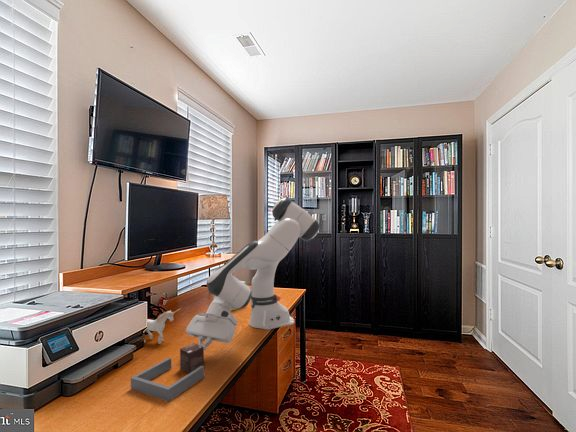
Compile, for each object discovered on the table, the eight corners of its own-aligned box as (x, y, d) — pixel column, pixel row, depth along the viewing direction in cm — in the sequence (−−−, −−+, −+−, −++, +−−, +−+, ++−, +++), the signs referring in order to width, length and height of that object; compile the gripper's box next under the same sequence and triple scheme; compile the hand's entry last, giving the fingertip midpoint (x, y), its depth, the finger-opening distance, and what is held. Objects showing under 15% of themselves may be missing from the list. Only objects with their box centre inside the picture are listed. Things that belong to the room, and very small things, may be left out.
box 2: (194, 362, 114) (194, 342, 114) (204, 367, 110) (204, 346, 110) (179, 369, 110) (179, 348, 110) (189, 374, 106) (189, 352, 106)
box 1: (168, 367, 111) (168, 357, 111) (204, 376, 104) (204, 366, 104) (130, 389, 97) (130, 377, 97) (168, 401, 90) (168, 389, 90)
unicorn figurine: (177, 344, 132) (176, 312, 132) (130, 346, 130) (129, 314, 130) (182, 337, 139) (181, 307, 139) (137, 339, 138) (137, 309, 138)
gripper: (192, 308, 125) (175, 341, 116) (234, 314, 116) (218, 350, 107) (200, 316, 129) (184, 349, 120) (241, 322, 120) (226, 358, 111)
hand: (200, 349), depth 114 cm, fingers closed
